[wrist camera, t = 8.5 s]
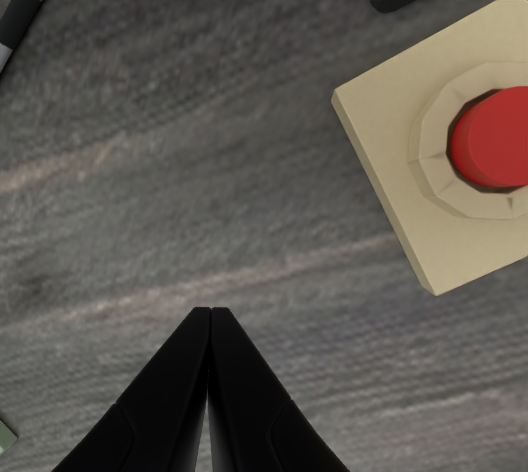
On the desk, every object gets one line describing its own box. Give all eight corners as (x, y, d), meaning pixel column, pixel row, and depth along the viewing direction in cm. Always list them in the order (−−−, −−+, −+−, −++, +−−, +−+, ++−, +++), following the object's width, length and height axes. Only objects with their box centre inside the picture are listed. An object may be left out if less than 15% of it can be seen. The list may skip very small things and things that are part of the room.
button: (557, 162, 16) (589, 156, 14) (471, 202, 16) (492, 202, 14) (520, 81, 15) (548, 66, 14) (434, 125, 16) (451, 115, 14)
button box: (594, 209, 19) (672, 211, 15) (421, 286, 20) (451, 307, 16) (501, 7, 18) (557, -46, 14) (330, 101, 20) (338, 76, 16)
